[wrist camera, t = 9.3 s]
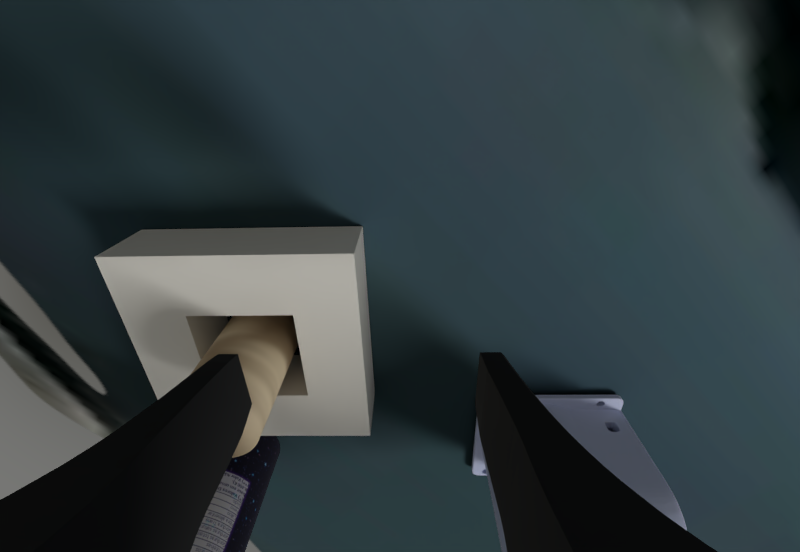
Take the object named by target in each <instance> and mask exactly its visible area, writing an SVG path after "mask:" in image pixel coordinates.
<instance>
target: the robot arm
mask: <svg viewBox="0 0 800 552" xmlns="http://www.w3.org/2000/svg"><path fill="white" fill-rule="evenodd" d="M251 406H252V402H251V398H250V395H249V391H248V388H247V384H246V381H245V377H244V374H243V370H242V367H241V363H240V360H239V356H238V354H217V355H216V356H214V357H213V358H212V359H210V360H209V361H208V362H206V363H205V364H204V365H202V366H201V367H200V368H198V369H197V370H196V371H195V372H193V373H192V374H191V375H189V376H188V377H187V378H186V379H184V380H183V381H182V382H181V383H179V384H178V385H177V386H175V387H174V388H173V389H172V390H170V391H169V392H168V393H166V394H165V395H164V396H162V397H161V398H160V399H159V400H157V401H156V402H155V403H153V404H152V405H151V406H149V407H148V408H146V409H145V410H144V411H142V412H141V413H140V414H138V415H137V416H135V417H134V418H133V419H131V420H130V421H128V422H127V423H126V424H124V425H123V426H121V427H120V428H119V429H117V430H116V431H115V432H113V433H112V434H110V435H109V436H107V437H106V438H104V439H103V440H101V441H100V442H98V443H97V444H95V445H94V446H92V447H90V448H89V449H88V450H86V451H84V452H82V453H81V454H79V455H78V456H76V457H74V458H73V459H71V460H70V461H68V462H66V463H65V464H63V465H61V466H60V467H58V468H56V469H55V470H53V471H51V472H49V473H48V474H46V475H44V476H42V477H41V478H39V479H37V480H35V481H34V482H32V483H30V484H28V485H26V486H25V487H23V488H21V489H19V490H17V491H16V492H14V493H12V494H10V495H9V496H7V497H5V498H3V499H1V500H0V552H190V551H191V549H192V546H193V543H194V541H195V538H196V535H197V532H198V530H199V528H200V525H201V523H202V521H203V518H204V516H205V514H206V511H207V509H208V507H209V505H210V503H211V501H212V499H213V497H214V495H215V492H216V490H217V488H218V486H219V484H220V482H221V480H222V478H223V476H224V473H225V471H226V469H227V467H228V465H229V463H230V461H231V459H232V456H233V454H234V452H235V450H236V448H237V446H238V443H239V441H240V439H241V437H242V434H243V431H244V428H245V425H246V422H247V419H248V416H249V412H250V409H251ZM475 406H476V414H477V418H476V427H475V437H474V447H473V457H472V473H473V474H475V475H487V478H488V483H489V489H490V494H491V499H492V504H493V509H494V514H495V519H496V524H497V529H498V535H499V540H500V545H501V550H502V552H717V551H716V550H714V549H713V548H711V547H709V546H708V545H707V544H705V543H704V542H702V541H701V540H699V539H698V538H696V537H695V536H694V535H692V534H691V533H689V532H688V531H687V528H686V525H685V521H684V518H683V515H682V512H681V510H680V507H679V505H678V502H677V500H676V498H675V496H674V494H673V492H672V491H671V489H670V487H669V485H668V484H667V482H666V481H665V479H664V478H663V476H662V474H661V473H660V471H659V470H658V468H657V467H656V465H655V463H654V462H653V460H652V459H651V457H650V455H649V454H648V452H647V451H646V449H645V448H644V446H643V444H642V443H641V441H640V440H639V438H638V437H637V435H636V433H635V432H634V430H633V429H632V427H631V426H630V424H629V422H628V421H627V419H626V418H625V416H624V414H623V413H622V411H621V408H622V406H623V400H622V398H621V397H620V396H619V395H535V394H534V393H533V392H532V391H531V390H530V388H529V387H528V386H527V385H526V384H525V382H524V381H523V380H522V378H521V377H520V376H519V375H518V373H517V372H516V371H515V369H514V368H513V367H512V366H511V364H510V363H509V361H508V360H507V359H506V357H505V356H504V355H503V354H502V353H501V352H485V353H480V357H479V367H478V378H477V388H476V399H475Z"/></svg>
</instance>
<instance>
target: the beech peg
mask: <svg viewBox="0 0 800 552" xmlns="http://www.w3.org/2000/svg"><path fill="white" fill-rule="evenodd" d="M297 346H298V339H297V334H296V329H295V323H294V318H293V315H266V316H233V317H232V318H231V319H230V321H229V322H228V323H227V325H226V326H225V328H224V329H223V330H222V332H221V333H220V334H219V336H218V337H217V338H216V340H215V341H214V343H213V344H212V345H211V347H210V348H209V349H208V351H207V352H206V354H205V355H204V356H203V358H202V359H201V360H200V362H199V363H198V364H197V366H196V367H195V369H194V370H193V371H192V373H193V372H195V371H196V370H197V369H198V368H200V367H201V366H202V365H204V364H205V363H206V362H208V361H209V360H210V359H212V358H213V357H214V356H216V355H217V354H238V356H239V360H240V363H241V367H242V370H243V374H244V377H245V381H246V384H247V388H248V391H249V395H250V398H251V402H252V406H251V409H250V412H249V416H248V419H247V422H246V425H245V428H244V431H243V434H242V437H241V439H240V441H239V443H238V446H237V448H236V450H235V452H234V454H233V456H232V458H234V457H239V456H242V455H244V454H246V453H248V452H250V451H251V450H252V449H253V448H254V447H255V446H256V445H257V443H258V441H259V439H260V436H261V434H262V431H263V429H264V426H265V424H266V421H267V419H268V417H269V414H270V412H271V409H272V407H273V404H274V402H275V399H276V397H277V395H278V392H279V390H280V387H281V385H282V382H283V380H284V377H285V375H286V373H287V370H288V368H289V365H290V363H291V360H292V358H293V356H294V353H295V351H296V348H297ZM192 373H191V374H192ZM191 374H190V375H191Z"/></svg>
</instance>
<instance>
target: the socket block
mask: <svg viewBox="0 0 800 552" xmlns="http://www.w3.org/2000/svg"><path fill="white" fill-rule="evenodd" d="M94 258H95V260H96V262H97V264H98V267H99V269H100V271H101V273H102V276H103V278H104V280H105V282H106V285H107V287H108V289H109V291H110V294H111V296H112V298H113V300H114V303H115V305H116V307H117V309H118V312H119V314H120V316H121V318H122V321H123V323H124V325H125V327H126V330H127V332H128V334H129V336H130V338H131V341H132V343H133V345H134V347H135V350H136V352H137V354H138V356H139V359H140V361H141V363H142V365H143V368H144V370H145V372H146V374H147V377H148V379H149V381H150V383H151V386H152V388H153V390H154V392H155V395H156V397H157V399H158V400H159V399H160V398H161V397H162V396H164V395H165V394H166V393H168V392H169V391H170V390H172V389H173V388H174V387H175V386H177V385H178V384H179V383H181V382H182V381H183V380H184V379H186V378H187V377H188V376H189V375H190V374H191V373H192V371H193V370H194V369H195V367H196V366H197V364H198V363H199V362H200V360H201V359H202V358H203V356H204V355H205V354H206V352H207V351H208V349H209V348H210V347H211V345H212V344H213V343H214V341H215V340H216V338H217V337H218V336H219V334H220V333H221V332H222V330H223V329H224V328H225V326H226V325H227V323H228V319H227V316H266V315H293V318H294V323H295V329H296V334H297V339H298V345H299V350H300V355H294V356H293V358H292V360H291V363H290V365H289V368H288V370H287V373H286V375H285V377H284V380H283V382H282V385H281V387H280V390H279V392H278V395H277V397H276V399H275V402H274V404H273V407H272V409H271V412H270V414H269V417H268V419H267V421H266V424H265V426H264V429H263V431H262V434H261V436H370V434H371V424H372V415H373V406H374V396H375V387H374V374H373V361H372V347H371V334H370V321H369V307H368V294H367V280H366V267H365V254H364V240H363V227H362V226H341V227H278V228H214V229H150V230H140V231H139V232H137V233H135V234H133V235H132V236H130V237H128V238H126V239H125V240H123V241H121V242H119V243H118V244H116V245H114V246H113V247H111V248H109V249H107V250H106V251H104V252H102V253H100V254H99V255H97V256H95V257H94Z"/></svg>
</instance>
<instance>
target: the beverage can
mask: <svg viewBox="0 0 800 552" xmlns="http://www.w3.org/2000/svg"><path fill="white" fill-rule="evenodd" d="M279 453H280V444H279V441H278V439H277V437H276V436H260V439H259V441H258V443H257V445H256V446H255V447H254V448H253V449H252V450H251V451H250V452H248V453H246V454H244V455H242V456H239V457H234V458H232V459H231V461H230V463H229V465H228V467H227V469H226V471H225V473H224V476H223V478H222V480H221V482H220V484H219V486H218V488H217V490H216V492H215V495H214V497H213V499H212V501H211V503H210V505H209V507H208V509H207V511H206V514H205V516H204V518H203V521H202V523H201V525H200V528H199V530H198V532H197V535H196V538H195V541H194V543H193V546H192V549H191V551H190V552H245V550H246V547H247V544H248V541H249V538H250V536H251V533H252V530H253V527H254V524H255V521H256V518H257V516H258V513H259V510H260V507H261V504H262V501H263V498H264V496H265V493H266V490H267V487H268V484H269V481H270V479H271V476H272V473H273V470H274V467H275V464H276V461H277V459H278V456H279Z"/></svg>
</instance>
